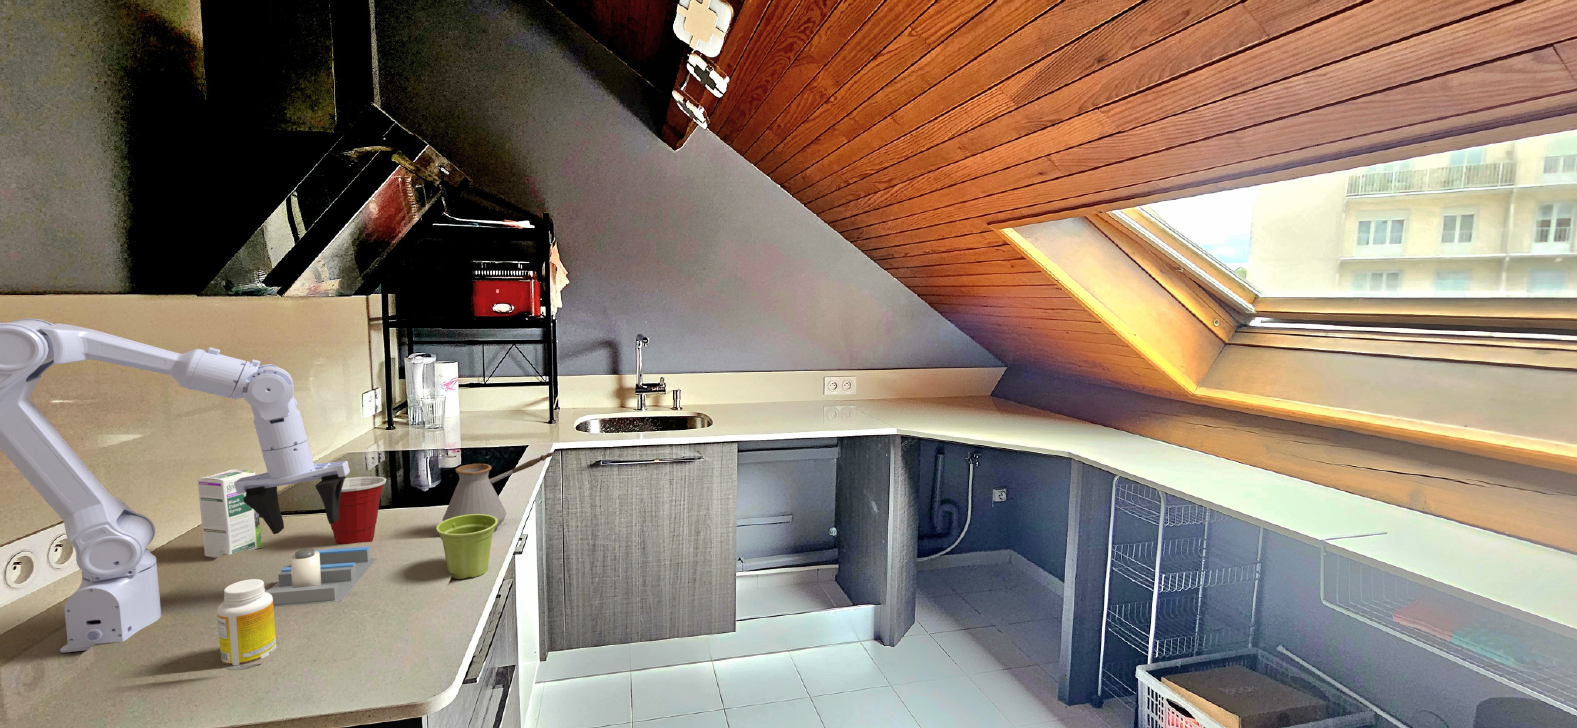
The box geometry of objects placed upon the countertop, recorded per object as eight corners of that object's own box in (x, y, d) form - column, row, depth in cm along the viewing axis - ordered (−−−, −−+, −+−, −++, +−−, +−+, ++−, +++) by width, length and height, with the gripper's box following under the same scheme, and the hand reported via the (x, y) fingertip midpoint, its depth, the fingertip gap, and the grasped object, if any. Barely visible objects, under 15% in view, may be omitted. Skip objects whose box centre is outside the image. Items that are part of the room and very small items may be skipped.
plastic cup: (396, 529, 129) (393, 470, 128) (380, 550, 119) (377, 487, 118) (332, 533, 126) (329, 474, 125) (310, 556, 116) (307, 491, 114)
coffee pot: (440, 544, 123) (437, 467, 121) (445, 523, 133) (443, 452, 131) (559, 530, 131) (558, 458, 129) (555, 512, 142) (554, 445, 140)
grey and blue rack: (341, 607, 99) (340, 586, 98) (248, 615, 96) (246, 594, 95) (377, 563, 114) (376, 545, 114) (298, 568, 111) (297, 550, 110)
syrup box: (230, 560, 113) (223, 479, 112) (203, 556, 115) (196, 476, 113) (262, 547, 119) (257, 470, 117) (236, 544, 120) (230, 468, 118)
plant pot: (510, 564, 115) (509, 517, 114) (471, 588, 106) (469, 537, 105) (466, 557, 118) (465, 511, 117) (424, 579, 109) (422, 529, 108)
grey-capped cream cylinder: (315, 596, 100) (313, 555, 99) (288, 599, 99) (285, 557, 98) (325, 586, 103) (323, 546, 102) (299, 588, 102) (296, 548, 101)
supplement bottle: (286, 647, 88) (282, 575, 87) (257, 671, 82) (252, 595, 81) (242, 648, 87) (236, 576, 86) (209, 673, 82) (203, 596, 80)
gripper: (347, 428, 105) (367, 506, 108) (242, 444, 101) (265, 525, 104) (330, 441, 98) (351, 524, 101) (217, 459, 94) (242, 544, 97)
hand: (306, 526), depth 102 cm, fingers open, 7 cm apart
